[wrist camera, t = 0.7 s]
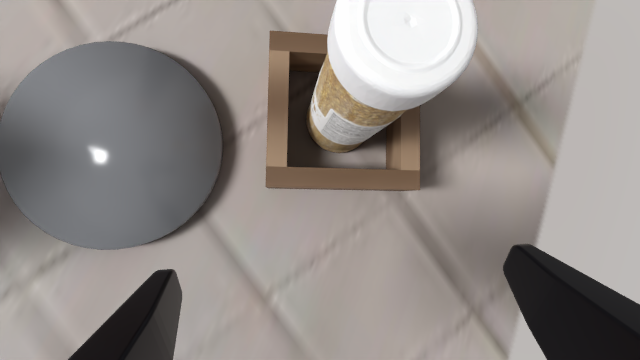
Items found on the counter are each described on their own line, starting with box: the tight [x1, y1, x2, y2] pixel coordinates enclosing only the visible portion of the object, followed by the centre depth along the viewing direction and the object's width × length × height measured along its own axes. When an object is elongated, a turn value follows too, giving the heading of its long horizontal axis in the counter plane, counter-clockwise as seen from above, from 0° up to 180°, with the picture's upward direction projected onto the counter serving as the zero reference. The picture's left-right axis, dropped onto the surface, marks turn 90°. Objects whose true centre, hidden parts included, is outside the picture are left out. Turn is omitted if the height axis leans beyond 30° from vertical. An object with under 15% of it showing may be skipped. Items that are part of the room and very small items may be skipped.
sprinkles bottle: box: [306, 0, 478, 153], centre depth 16 cm, size 5×5×14 cm
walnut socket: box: [266, 31, 420, 191], centre depth 22 cm, size 9×9×3 cm
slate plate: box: [0, 41, 223, 250], centre depth 21 cm, size 13×13×1 cm
